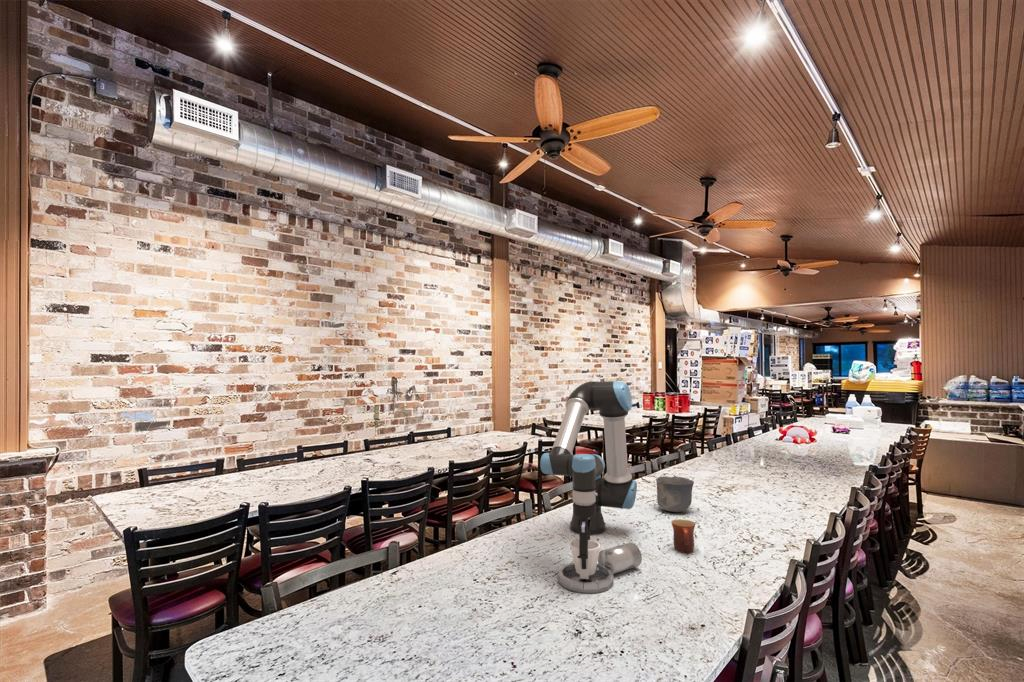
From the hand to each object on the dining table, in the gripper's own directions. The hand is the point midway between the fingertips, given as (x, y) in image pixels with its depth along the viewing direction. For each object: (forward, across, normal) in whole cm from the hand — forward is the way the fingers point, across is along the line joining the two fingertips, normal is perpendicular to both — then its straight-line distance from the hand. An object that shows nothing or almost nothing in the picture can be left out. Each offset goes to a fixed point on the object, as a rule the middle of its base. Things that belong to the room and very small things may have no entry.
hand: (585, 571), depth 164 cm
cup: (+1, 0, 0) cm, 1 cm away
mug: (+3, +33, -35) cm, 48 cm away
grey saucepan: (+3, +4, -5) cm, 7 cm away
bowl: (+3, +86, -37) cm, 93 cm away
